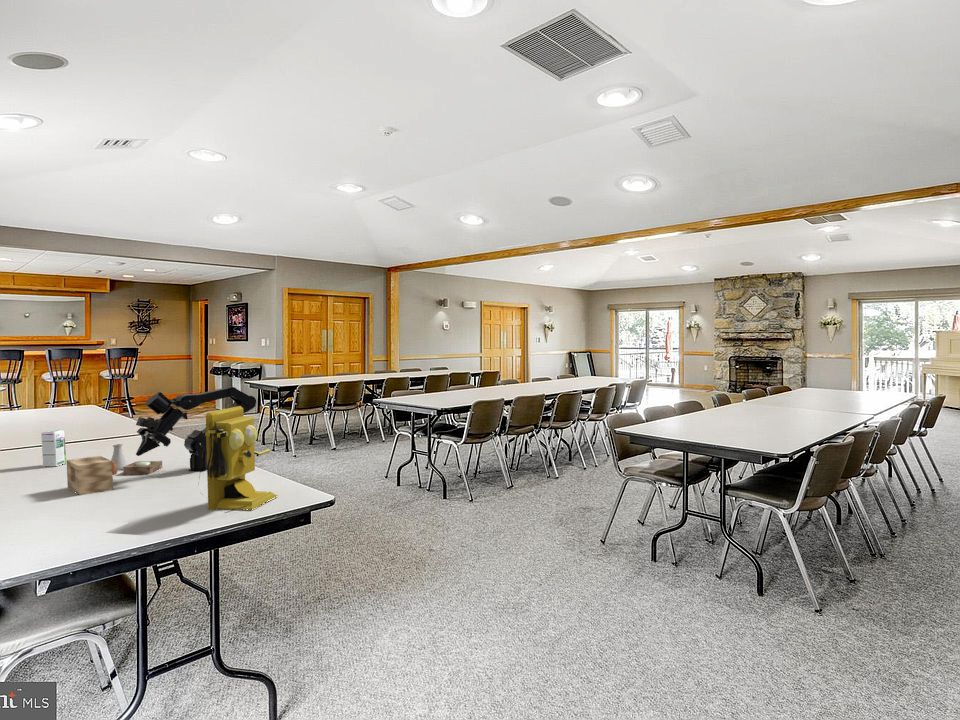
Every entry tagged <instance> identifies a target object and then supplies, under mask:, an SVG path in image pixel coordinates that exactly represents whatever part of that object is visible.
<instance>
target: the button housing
mask: <svg viewBox="0 0 960 720" xmlns="http://www.w3.org/2000/svg"><path fill="white" fill-rule="evenodd" d="M138 462H150V464H149V465H141V466H136V463H138ZM161 468H162V469H163V460H143V461H142V460H140V461H134V462H132V463H128V465H127V466H124V467H123V471H122V473H123V474H130V475H151V474H153V473H155V472H157V470H158V471H159V469H160V470H161Z"/></svg>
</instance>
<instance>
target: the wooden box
mask: <svg viewBox="0 0 960 720" xmlns="http://www.w3.org/2000/svg"><path fill="white" fill-rule="evenodd" d="M66 475H67V476H66V478H67V480H66V481H67V482H66V483H67V489H68V488H69V489H68V490H70V489H71V490H72V492H73V491H74V492H73V493H75V492H76V493H77V495H78V494H79V495H78V496H81V495H82V494H84V495H88V494H87V493H89V494H94V493H93V492H95V493H100V492H105V491H104V490H106V491H110V489H111V490H114V484H113V483H114V480H113V476H114V475H113V474H112V461H111V459H108V458H106V457H104V456H101V455H95V456H93V455H92V456H87V457H82V458H81V457H80V458H74V459H66ZM71 490H70V491H71ZM99 491H100V492H99ZM76 493H75V494H76ZM82 496H83V495H82Z"/></svg>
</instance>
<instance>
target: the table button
mask: <svg viewBox="0 0 960 720" xmlns="http://www.w3.org/2000/svg"><path fill="white" fill-rule="evenodd" d="M149 464H150V462H138V463H136V466H141V465H149Z"/></svg>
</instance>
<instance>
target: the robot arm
mask: <svg viewBox="0 0 960 720" xmlns="http://www.w3.org/2000/svg"><path fill="white" fill-rule="evenodd" d="M255 397H256V396H255ZM255 397H254V396H252V395H248V394H246V393H245V392H243V391H241V390H240V389H237V388H236V387H235V386H226V387H222V388H218V389H217V388H216V389H215V390H214V389H212V390H208V391H205V392H201V393H184V394H179V395H177V396H176V397H175V398H172V399H170V398H168V397H167V396H165V394H164V393H162V392H161V391H157V392H156V393H155V394H153V395H152V396H151V397H149V398H148V399H147V400H146V401H145V404H144V405H145V406H146V407H147V408H148V409H150V410H151V411H153V412H154V413H155V414H156V415H160V414H161V416H160V417H159V418H153V417H150V416H148V417H147V418H145V417H140V416H139V417H138V419H137V421H136V423H135V426H137V427H139V429H138V430H136V433H137V434H138V435H139V436H141V443H140V445H139V447H138V448H137V451H136V452H135V455H136V456H137V457H139V456H142V455H144V454H146V453H148V452H149V451H152V450H154V449H156V448H158V447H161V445H160V444H163V446H164V447H165V448H166V447H168V446H169V445H170V444H172V443H171V438H170V437H168V436H167V434H169V432H173V430H174V426H175V425H176V424H177V423H178V422H179V421H180V420H181V419H182V420H188V418H189V417H188V412H186V411H190V410H192V409H195V408H197V407H199V406H201V405H203V404H205V403H209V402H213V401H217V400H222V399H226V398H229V399H231V400H232V401H233V402H232V404H231V406H230V408H232V407H237V406H241V407H242V408H243V414H245V413H248V412H249V411H251V410H253V409H254V408H255V407H257V399H256V398H255ZM175 407H176V408H175ZM182 410H185V411H182ZM205 433H206V427H205V428H203V429H202V430H198V429H194V430H193V431H192V432H191V433H189V434H188V435H186V438H185V439H184V444H183V445H184V448H185V449H186V450H187V451H188V453H189V454H190V458H189V469H188V471H189V472H190V471H192V472H193V471H194V472H195V471H196V472H200V469H201V472H204V470H205V471H207V470H206V469H207V445H206V439H205ZM204 439H205V446H204ZM203 447H204V452H203ZM202 454H203V459H202ZM201 461H202V465H201Z"/></svg>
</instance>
